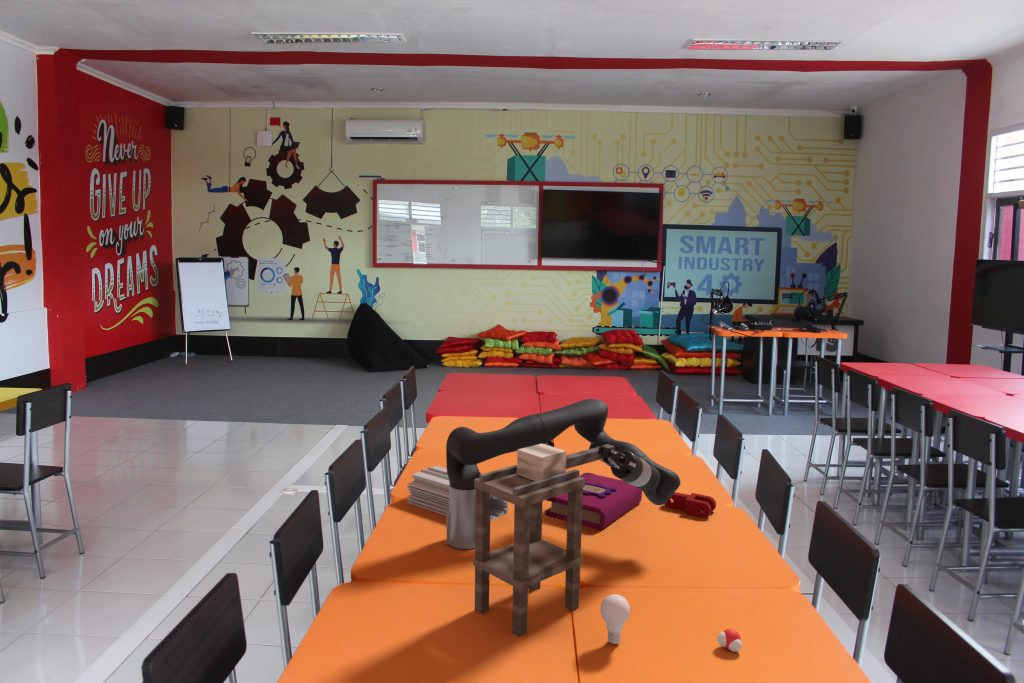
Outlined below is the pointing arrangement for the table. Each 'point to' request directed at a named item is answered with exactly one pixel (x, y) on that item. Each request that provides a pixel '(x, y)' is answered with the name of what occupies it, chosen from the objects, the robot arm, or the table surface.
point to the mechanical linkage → (692, 504)
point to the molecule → (730, 640)
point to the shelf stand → (527, 539)
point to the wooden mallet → (552, 460)
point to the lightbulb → (615, 615)
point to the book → (599, 501)
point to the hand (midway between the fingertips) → (595, 448)
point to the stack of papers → (442, 493)
